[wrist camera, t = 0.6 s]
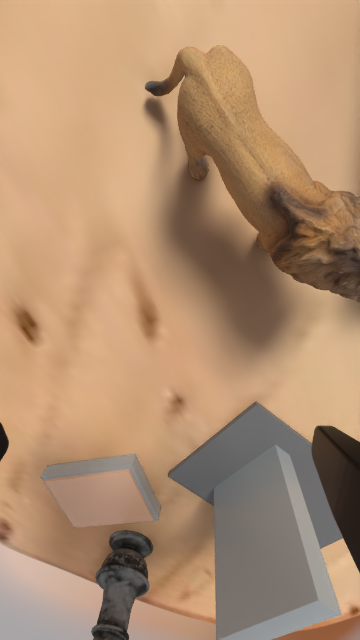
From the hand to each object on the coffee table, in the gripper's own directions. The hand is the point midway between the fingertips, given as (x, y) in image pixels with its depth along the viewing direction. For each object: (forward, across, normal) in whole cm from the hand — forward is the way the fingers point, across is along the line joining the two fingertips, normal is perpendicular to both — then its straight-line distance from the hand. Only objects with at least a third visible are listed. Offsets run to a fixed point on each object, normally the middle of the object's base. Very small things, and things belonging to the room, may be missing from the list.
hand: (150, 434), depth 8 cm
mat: (+12, +8, -20) cm, 25 cm away
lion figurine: (+13, +5, +7) cm, 16 cm away
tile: (+12, +5, -17) cm, 21 cm away
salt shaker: (+13, -8, -31) cm, 34 cm away
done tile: (+13, -9, -21) cm, 26 cm away
